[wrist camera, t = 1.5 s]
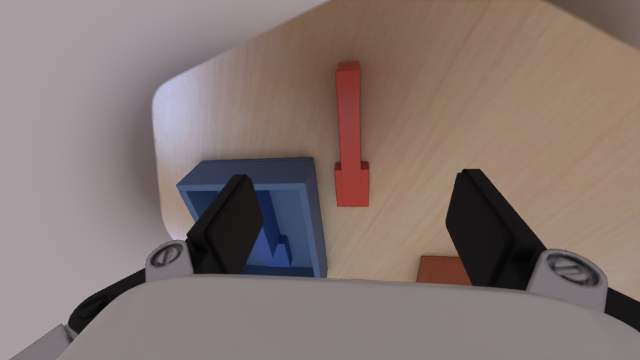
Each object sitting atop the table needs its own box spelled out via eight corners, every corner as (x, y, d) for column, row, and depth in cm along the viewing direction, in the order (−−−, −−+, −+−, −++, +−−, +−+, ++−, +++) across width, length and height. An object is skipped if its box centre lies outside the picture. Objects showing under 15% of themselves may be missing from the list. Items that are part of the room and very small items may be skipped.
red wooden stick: (328, 64, 21) (323, 72, 18) (369, 60, 20) (372, 68, 17) (338, 198, 29) (335, 221, 26) (367, 198, 29) (369, 221, 25)
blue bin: (201, 160, 28) (175, 185, 24) (313, 157, 26) (305, 183, 22) (245, 264, 39) (232, 294, 35) (327, 268, 37) (324, 299, 33)
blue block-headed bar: (243, 175, 28) (228, 195, 25) (272, 174, 28) (260, 195, 24) (270, 257, 36) (261, 281, 33) (292, 258, 36) (286, 282, 33)
